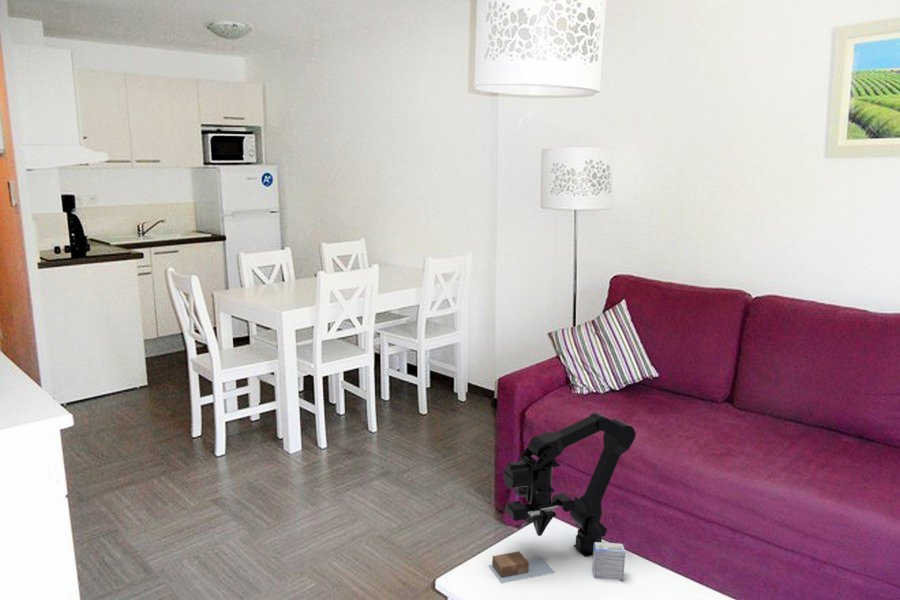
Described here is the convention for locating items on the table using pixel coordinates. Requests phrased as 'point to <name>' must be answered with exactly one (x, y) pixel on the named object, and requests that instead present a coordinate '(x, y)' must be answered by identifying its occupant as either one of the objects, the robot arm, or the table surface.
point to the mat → (535, 569)
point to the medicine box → (608, 561)
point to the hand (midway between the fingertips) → (539, 535)
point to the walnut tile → (510, 564)
